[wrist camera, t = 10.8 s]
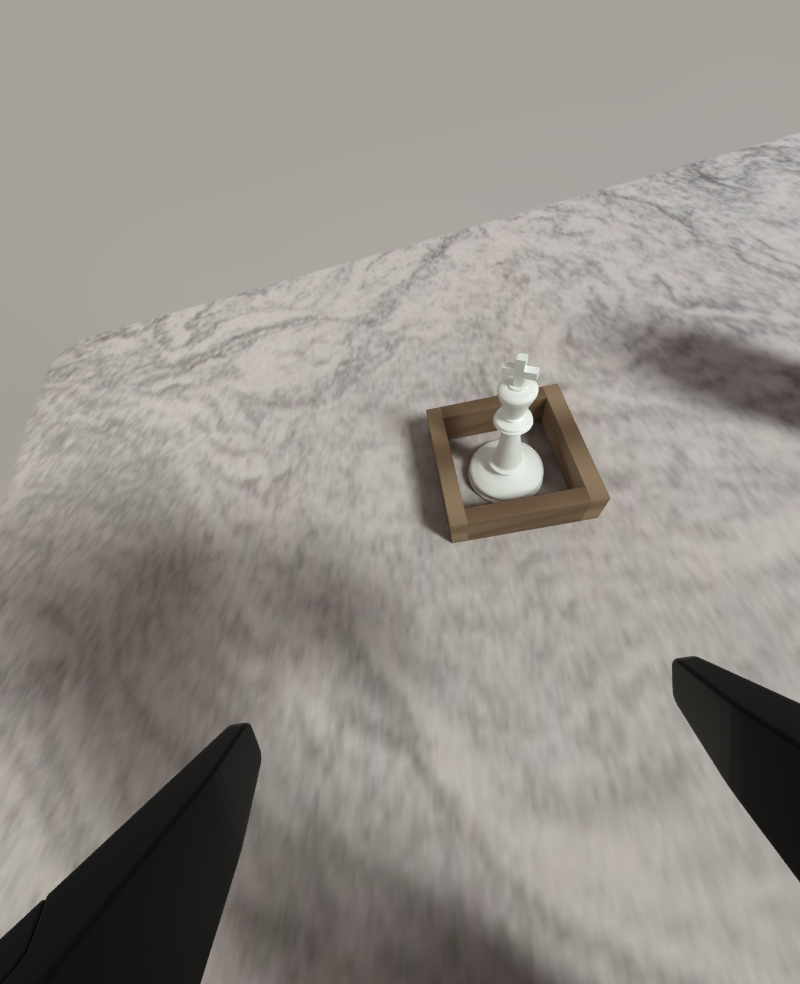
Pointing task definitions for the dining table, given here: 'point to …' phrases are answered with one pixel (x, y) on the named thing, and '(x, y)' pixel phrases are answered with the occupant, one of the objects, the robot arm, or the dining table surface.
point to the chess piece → (510, 440)
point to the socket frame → (526, 512)
